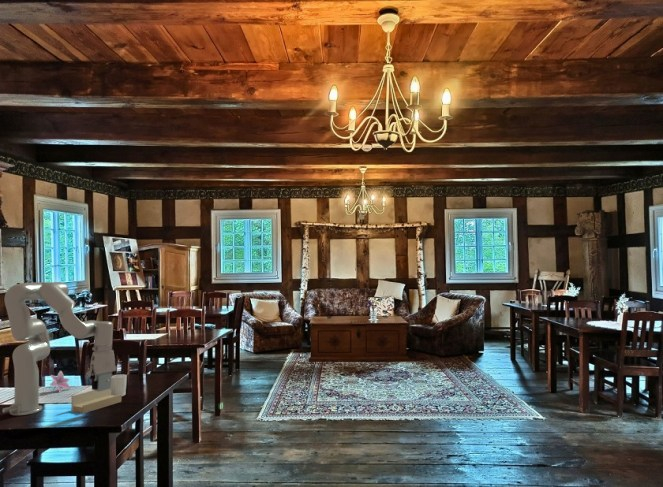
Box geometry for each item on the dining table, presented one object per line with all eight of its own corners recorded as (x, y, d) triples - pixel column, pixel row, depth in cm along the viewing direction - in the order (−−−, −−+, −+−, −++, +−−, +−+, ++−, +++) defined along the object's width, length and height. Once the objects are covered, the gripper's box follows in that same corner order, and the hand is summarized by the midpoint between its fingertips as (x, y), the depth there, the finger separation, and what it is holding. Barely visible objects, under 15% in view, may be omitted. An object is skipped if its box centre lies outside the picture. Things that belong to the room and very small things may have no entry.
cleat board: (83, 413, 214) (83, 397, 214) (71, 410, 218) (71, 395, 219) (121, 401, 232) (121, 387, 232) (109, 399, 236) (109, 385, 236)
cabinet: (99, 391, 213) (100, 374, 213) (91, 389, 216) (92, 373, 216) (111, 388, 218) (112, 372, 219) (103, 386, 221) (104, 370, 221)
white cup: (108, 398, 238) (108, 378, 239) (111, 394, 246) (111, 375, 246) (125, 396, 240) (125, 377, 241) (127, 392, 248) (127, 373, 249)
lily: (45, 397, 247) (54, 381, 247) (40, 384, 255) (49, 369, 255) (68, 399, 256) (76, 383, 256) (63, 386, 264) (71, 372, 264)
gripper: (91, 352, 209) (89, 392, 208) (124, 346, 224) (122, 384, 223) (80, 350, 212) (78, 390, 211) (114, 344, 227) (112, 382, 227)
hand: (101, 386), depth 217 cm, fingers closed on cabinet, 6 cm apart
